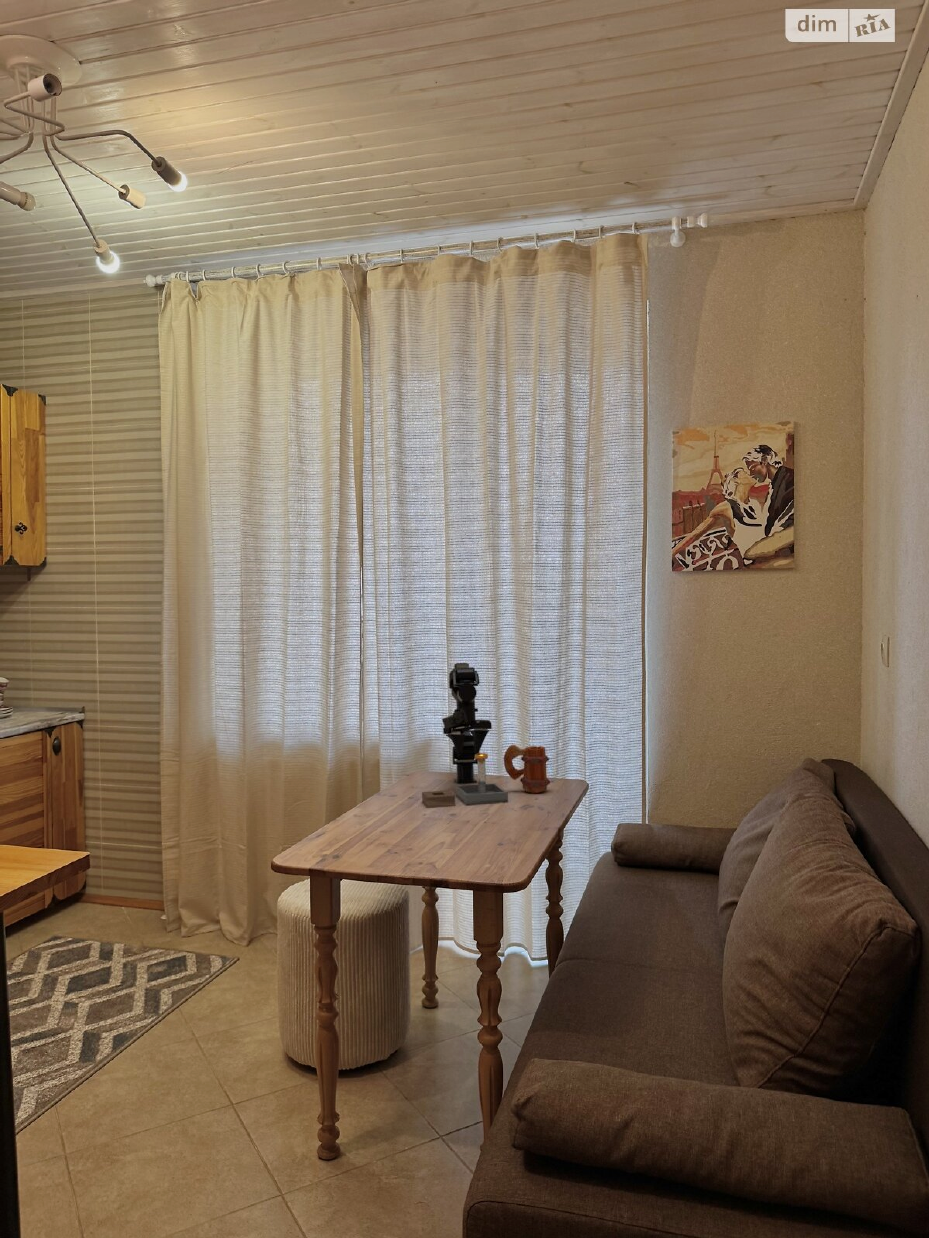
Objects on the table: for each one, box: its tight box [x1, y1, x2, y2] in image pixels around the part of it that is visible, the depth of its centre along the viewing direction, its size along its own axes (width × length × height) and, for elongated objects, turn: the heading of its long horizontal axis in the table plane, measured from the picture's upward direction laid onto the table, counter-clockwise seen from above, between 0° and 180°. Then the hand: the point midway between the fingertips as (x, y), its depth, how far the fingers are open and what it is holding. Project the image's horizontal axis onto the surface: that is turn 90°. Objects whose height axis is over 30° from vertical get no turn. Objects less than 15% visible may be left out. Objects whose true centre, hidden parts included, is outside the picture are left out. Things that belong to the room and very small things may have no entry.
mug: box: [503, 744, 551, 794], centre depth 290 cm, size 15×8×15 cm, turn 84°
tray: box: [455, 783, 509, 806], centre depth 282 cm, size 14×13×3 cm
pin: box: [474, 752, 489, 794], centre depth 281 cm, size 4×4×13 cm
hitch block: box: [421, 789, 456, 809], centre depth 277 cm, size 8×8×3 cm
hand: (468, 754), depth 290 cm, fingers open, 9 cm apart
